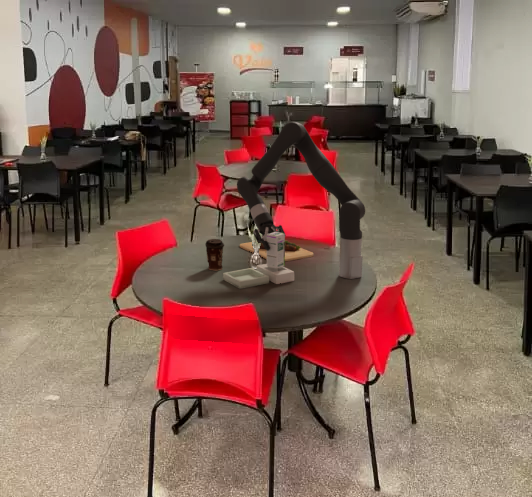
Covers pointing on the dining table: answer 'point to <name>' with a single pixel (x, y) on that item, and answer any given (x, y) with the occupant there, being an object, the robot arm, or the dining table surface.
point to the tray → (245, 278)
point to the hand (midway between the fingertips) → (276, 248)
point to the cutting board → (290, 251)
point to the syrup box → (276, 250)
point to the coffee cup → (214, 254)
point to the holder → (276, 273)
